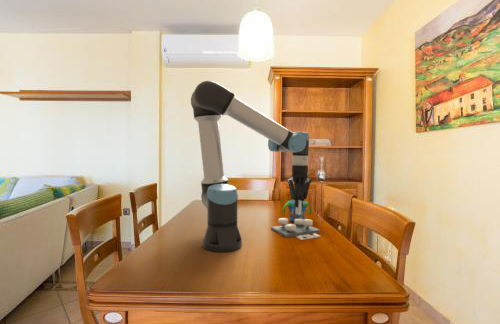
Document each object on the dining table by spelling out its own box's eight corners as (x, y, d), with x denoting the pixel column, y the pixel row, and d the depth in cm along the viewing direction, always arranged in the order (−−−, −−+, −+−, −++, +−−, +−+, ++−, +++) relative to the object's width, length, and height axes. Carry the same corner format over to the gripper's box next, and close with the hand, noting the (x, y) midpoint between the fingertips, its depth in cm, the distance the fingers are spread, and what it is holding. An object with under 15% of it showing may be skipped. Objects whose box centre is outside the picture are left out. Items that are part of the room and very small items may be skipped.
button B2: (298, 228, 131) (298, 221, 131) (292, 226, 135) (292, 219, 135) (306, 227, 133) (306, 220, 133) (300, 225, 137) (300, 218, 137)
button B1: (306, 229, 125) (306, 222, 125) (300, 227, 130) (300, 219, 129) (314, 228, 127) (314, 221, 127) (308, 225, 132) (308, 218, 131)
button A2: (281, 228, 127) (281, 220, 127) (276, 225, 132) (276, 218, 131) (290, 227, 129) (290, 219, 129) (284, 224, 134) (284, 217, 133)
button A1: (289, 234, 122) (289, 227, 122) (283, 232, 126) (283, 224, 126) (298, 233, 124) (298, 226, 123) (292, 230, 128) (292, 223, 128)
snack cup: (308, 218, 154) (308, 199, 153) (315, 223, 143) (315, 203, 143) (280, 218, 152) (280, 200, 151) (285, 224, 141) (285, 204, 141)
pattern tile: (301, 240, 117) (301, 238, 117) (295, 237, 120) (295, 235, 120) (320, 237, 121) (320, 235, 121) (314, 234, 124) (314, 232, 124)
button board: (286, 237, 120) (286, 234, 120) (271, 229, 132) (271, 226, 132) (319, 232, 127) (319, 229, 127) (302, 225, 139) (302, 222, 139)
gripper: (292, 165, 127) (291, 216, 128) (316, 165, 132) (314, 214, 133) (284, 164, 134) (282, 213, 135) (306, 164, 139) (304, 211, 140)
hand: (298, 213), depth 134 cm, fingers closed
